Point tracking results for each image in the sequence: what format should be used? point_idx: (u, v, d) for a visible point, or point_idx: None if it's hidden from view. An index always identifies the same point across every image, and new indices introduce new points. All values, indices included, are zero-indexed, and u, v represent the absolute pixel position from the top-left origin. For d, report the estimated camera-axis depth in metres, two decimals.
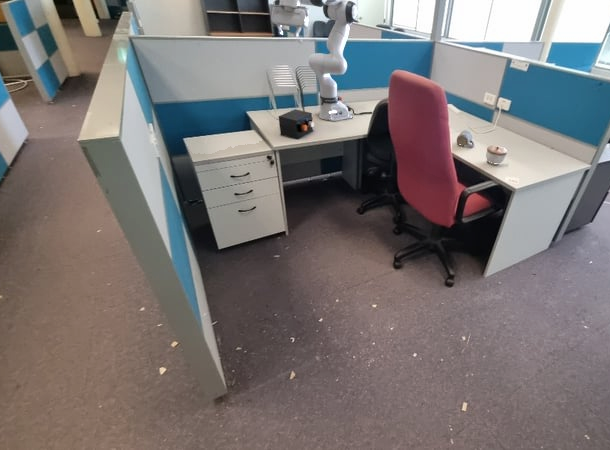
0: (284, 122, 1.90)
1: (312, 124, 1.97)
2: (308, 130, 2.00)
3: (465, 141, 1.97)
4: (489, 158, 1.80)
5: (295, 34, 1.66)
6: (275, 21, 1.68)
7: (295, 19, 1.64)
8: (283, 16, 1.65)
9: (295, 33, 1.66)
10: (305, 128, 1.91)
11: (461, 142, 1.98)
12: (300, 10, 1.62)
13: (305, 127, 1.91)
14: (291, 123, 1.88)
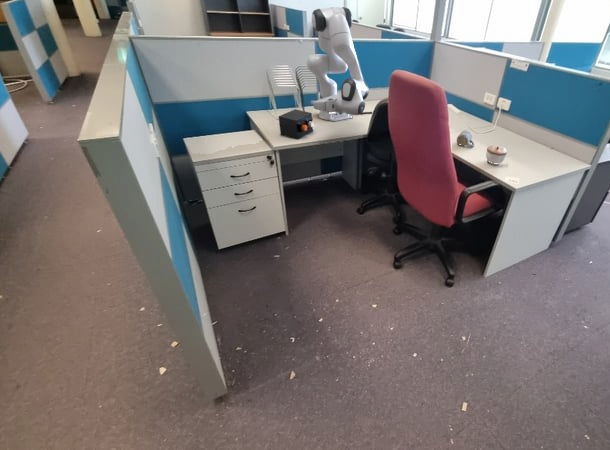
0: (284, 122, 1.90)
1: (312, 124, 1.97)
2: (308, 130, 2.00)
3: (465, 141, 1.97)
4: (489, 158, 1.80)
5: None
6: None
7: None
8: None
9: None
10: (305, 128, 1.91)
11: (461, 142, 1.98)
12: None
13: (305, 127, 1.91)
14: (291, 123, 1.88)
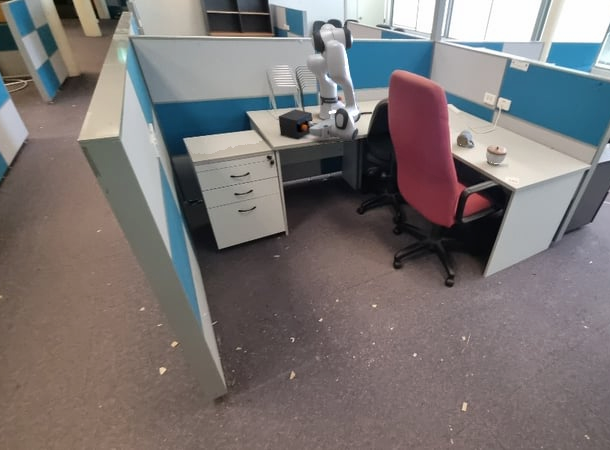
0: (284, 122, 1.90)
1: None
2: (308, 130, 2.00)
3: (465, 141, 1.97)
4: (489, 158, 1.80)
5: None
6: None
7: None
8: None
9: None
10: (305, 128, 1.91)
11: (461, 142, 1.98)
12: None
13: (305, 127, 1.91)
14: (291, 123, 1.88)
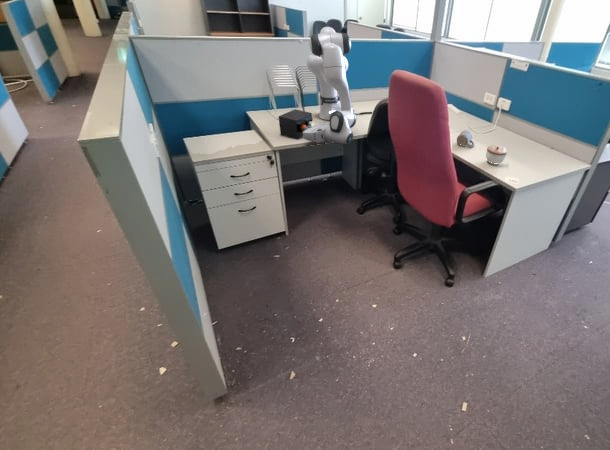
0: (284, 122, 1.90)
1: (312, 124, 1.97)
2: None
3: (465, 141, 1.97)
4: (489, 158, 1.80)
5: None
6: None
7: None
8: None
9: None
10: None
11: (461, 142, 1.98)
12: None
13: None
14: (291, 123, 1.88)
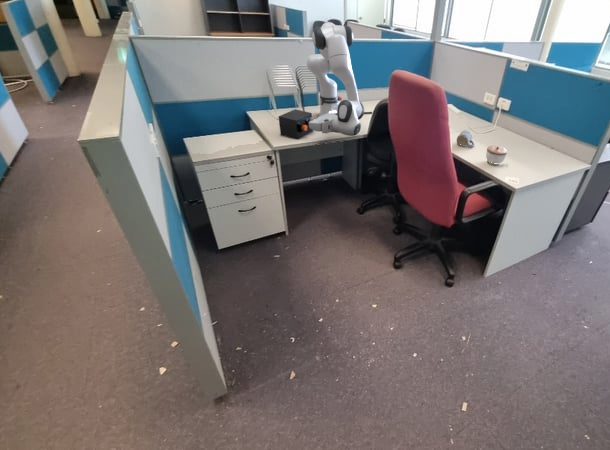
0: (284, 122, 1.90)
1: None
2: (308, 130, 2.00)
3: (465, 141, 1.97)
4: (489, 158, 1.80)
5: None
6: None
7: None
8: None
9: None
10: (305, 128, 1.91)
11: (461, 142, 1.98)
12: None
13: (305, 127, 1.91)
14: (291, 123, 1.88)
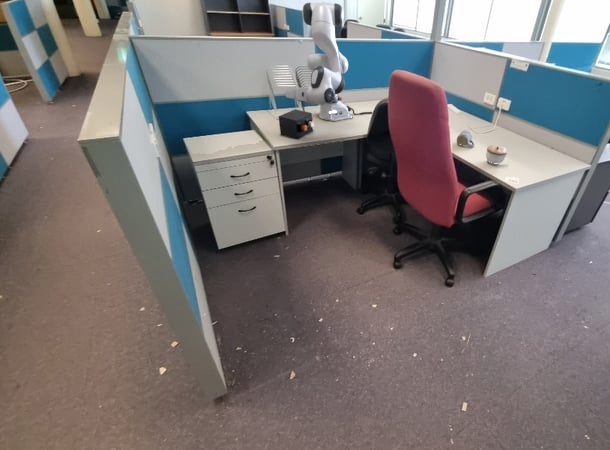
0: (284, 122, 1.90)
1: (312, 124, 1.97)
2: (308, 130, 2.00)
3: (465, 141, 1.97)
4: (489, 158, 1.80)
5: None
6: None
7: None
8: None
9: None
10: (305, 128, 1.91)
11: (461, 142, 1.98)
12: None
13: (305, 127, 1.91)
14: (291, 123, 1.88)
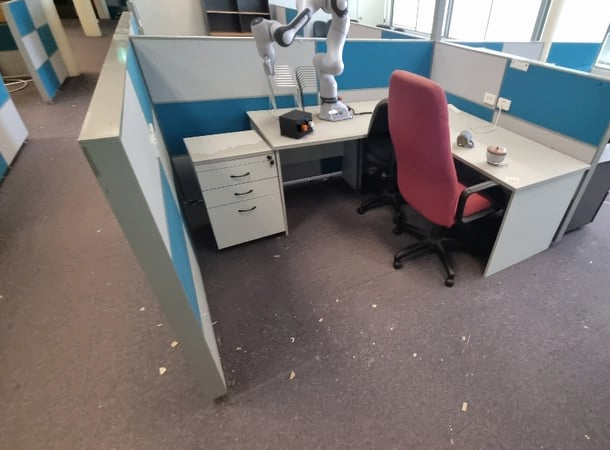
0: (284, 122, 1.90)
1: (312, 124, 1.97)
2: (308, 130, 2.00)
3: (465, 141, 1.97)
4: (489, 158, 1.80)
5: None
6: None
7: None
8: None
9: None
10: (305, 128, 1.91)
11: (461, 142, 1.98)
12: None
13: (305, 127, 1.91)
14: (291, 123, 1.88)
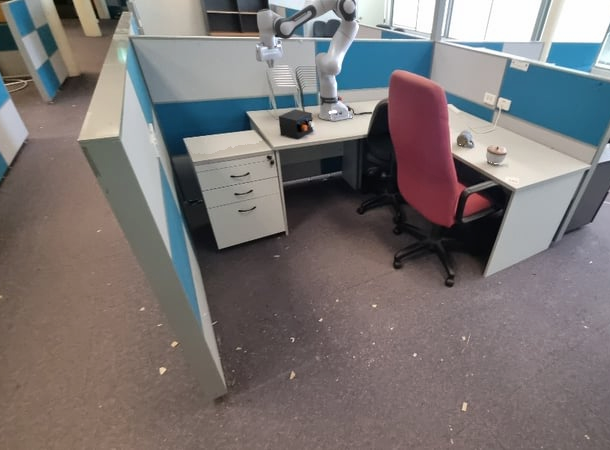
0: (284, 122, 1.90)
1: (312, 124, 1.97)
2: (308, 130, 2.00)
3: (465, 141, 1.97)
4: (489, 158, 1.80)
5: None
6: None
7: None
8: None
9: None
10: (305, 128, 1.91)
11: (461, 142, 1.98)
12: None
13: (305, 127, 1.91)
14: (291, 123, 1.88)
